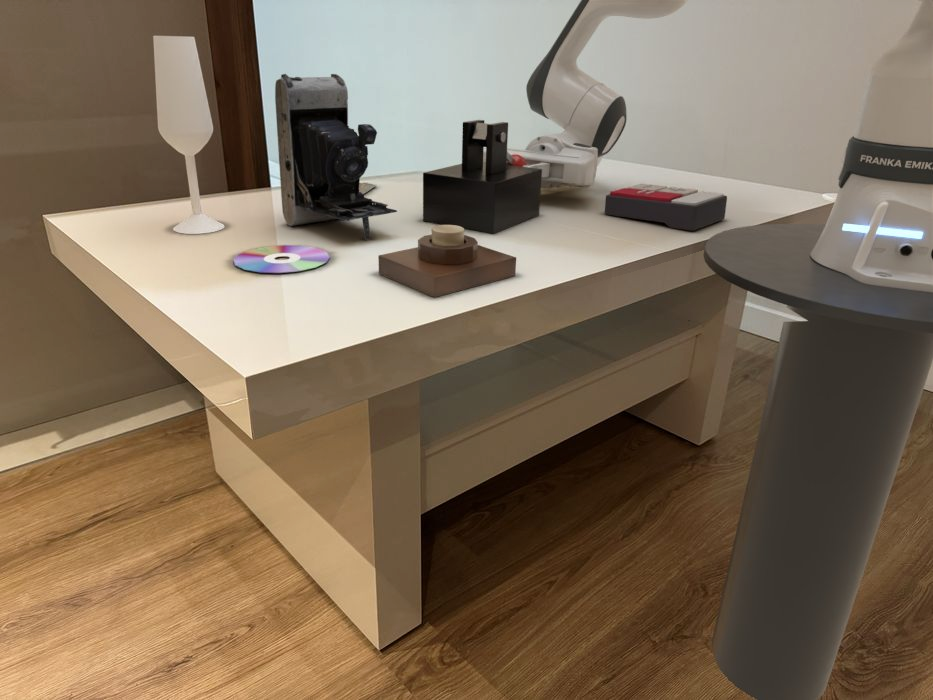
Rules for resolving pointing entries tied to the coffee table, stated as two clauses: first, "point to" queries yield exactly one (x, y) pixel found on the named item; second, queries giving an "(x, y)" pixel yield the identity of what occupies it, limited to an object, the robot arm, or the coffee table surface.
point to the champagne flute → (184, 115)
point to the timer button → (448, 235)
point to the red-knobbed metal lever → (481, 140)
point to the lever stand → (482, 186)
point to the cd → (267, 263)
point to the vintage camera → (321, 153)
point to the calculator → (667, 205)
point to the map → (365, 187)
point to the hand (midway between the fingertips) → (512, 169)
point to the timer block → (446, 266)
